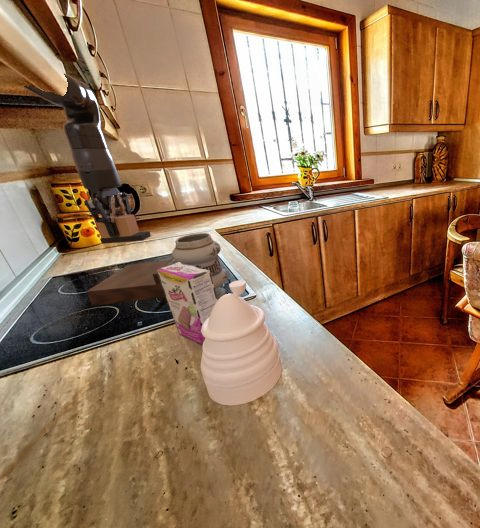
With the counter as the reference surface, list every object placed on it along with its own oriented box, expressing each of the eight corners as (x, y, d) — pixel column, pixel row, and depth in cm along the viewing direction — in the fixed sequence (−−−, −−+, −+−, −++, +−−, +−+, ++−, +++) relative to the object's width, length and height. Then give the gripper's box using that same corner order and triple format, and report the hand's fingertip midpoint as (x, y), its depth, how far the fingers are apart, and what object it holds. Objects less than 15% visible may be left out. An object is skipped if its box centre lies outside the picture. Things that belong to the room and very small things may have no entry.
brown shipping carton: (101, 243, 74) (92, 220, 71) (112, 239, 78) (103, 216, 75) (142, 240, 75) (134, 217, 73) (151, 236, 79) (143, 213, 77)
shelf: (94, 311, 75) (81, 281, 71) (134, 280, 93) (125, 255, 90) (167, 303, 77) (157, 273, 74) (192, 274, 96) (185, 250, 92)
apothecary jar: (179, 298, 80) (161, 238, 73) (221, 283, 88) (207, 228, 81) (195, 312, 72) (176, 247, 65) (239, 294, 80) (226, 235, 73)
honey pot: (261, 343, 59) (246, 265, 52) (295, 374, 50) (282, 286, 43) (197, 376, 51) (169, 289, 44) (223, 420, 42) (194, 319, 35)
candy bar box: (177, 335, 63) (155, 269, 57) (197, 324, 67) (179, 261, 61) (207, 349, 58) (187, 278, 52) (228, 336, 62) (211, 269, 56)
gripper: (99, 168, 75) (121, 229, 82) (56, 170, 62) (87, 243, 69) (129, 166, 76) (148, 226, 83) (94, 169, 63) (120, 240, 70)
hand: (120, 233), depth 76 cm, fingers closed on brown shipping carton, 4 cm apart
